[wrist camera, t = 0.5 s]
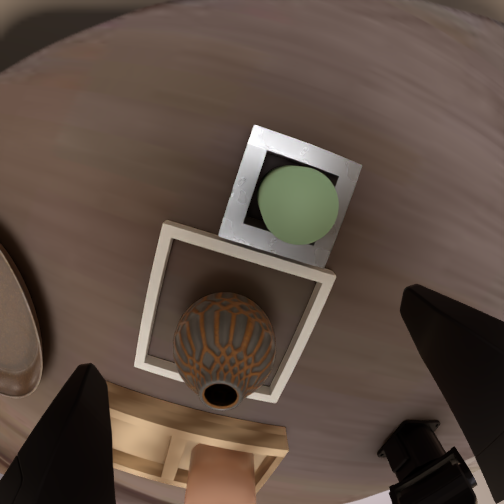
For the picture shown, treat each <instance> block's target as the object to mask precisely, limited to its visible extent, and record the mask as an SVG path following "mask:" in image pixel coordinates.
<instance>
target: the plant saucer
mask: <svg viewBox="0 0 504 504" xmlns="http://www.w3.org/2000/svg"><path fill="white" fill-rule="evenodd" d="M42 368H43V347H42V338H41V331H40V326H39V322H38V318H37V314H36V311H35V308H34V304H33V302H32V299H31V296H30V294H29V291H28V289H27V287H26V285H25V282H24V280H23V278H22V276H21V274H20V272H19V270H18V268H17V267H16V265H15V263H14V262H13V260H12V258H11V257H10V255H9V254H8V253H7V251H6V250H5V248H4V247H3V246H2V245H1V243H0V395H3V396H6V397H10V398H23V397H26V396H28V395H30V394H32V393H33V392H34V391H35V390H36V389H37V387H38V385H39V383H40V380H41V376H42Z"/></svg>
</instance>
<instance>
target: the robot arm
mask: <svg viewBox="0 0 504 504" xmlns="http://www.w3.org/2000/svg"><path fill="white" fill-rule="evenodd" d="M400 313H401V316H402V318H403V320H404V322H405V324H406V326H407V328H408V331H409V333H410V335H411V337H412V339H413V341H414V343H415V345H416V347H417V350H418V352H419V354H420V356H421V357H422V359H423V361H424V363H425V364H426V366H427V368H428V369H429V371H430V373H431V375H432V376H433V378H434V380H435V381H436V383H437V385H438V387H439V389H440V390H441V392H442V394H443V396H444V397H445V399H446V401H447V403H448V405H449V407H450V408H451V410H452V412H453V414H454V416H455V418H456V420H457V422H458V424H459V426H460V427H461V429H462V431H463V433H464V435H465V437H466V439H467V441H468V443H469V445H470V447H471V450H472V452H473V454H474V456H475V458H476V460H477V463H478V465H479V467H480V469H481V471H482V473H483V476H484V478H485V480H486V482H487V485H488V487H489V489H490V492H491V494H492V497H493V499H494V501H495V503H496V504H497V503H499V502H501V501H502V500H504V322H503V321H501V320H499V319H497V318H495V317H492V316H490V315H488V314H486V313H483V312H481V311H479V310H477V309H474V308H472V307H470V306H468V305H465V304H463V303H461V302H458V301H456V300H454V299H452V298H449V297H447V296H445V295H442V294H440V293H438V292H435V291H433V290H431V289H428V288H426V287H424V286H421V285H419V284H414V285H411V286H408V287H406V288H405V289H404V292H403V296H402V301H401V306H400ZM439 425H440V422H439V421H405V422H403V423H402V424H401V426H400V427H399V428H398V429H397V431H396V432H395V433H394V434H393V436H392V437H391V438H390V439H389V440H388V442H387V443H386V444H385V445H384V446H383V447H382V449H381V450H380V451H379V452H378V453H377V455H378V457H387V459H388V461H389V464H390V466H391V469H392V471H393V472H394V473H395V474H396V476H397V478H398V481H399V482H398V483H397V484H395V485H392V486H390V487H389V488H390V492H389V495H390V498H391V500H392V504H477V498H476V495H475V493H474V491H473V489H472V488H474V487H475V486H476V485H477V483H476V480H475V478H474V477H473V475H472V473H471V471H470V469H469V468H468V466H467V465H466V463H465V462H464V460H463V458H462V457H461V455H460V454H459V452H458V451H457V449H456V448H455V446H454V447H453V448H451V450H450V451H448V452H447V453H446V452H445V450H444V448H443V447H442V445H441V443H440V442H439V440H438V438H437V437H436V435H435V433H434V431H435V430H436V429H437V428H438V426H439ZM0 504H116V500H115V487H114V471H113V443H112V427H111V418H110V408H109V397H108V386H107V383H106V381H105V379H104V378H103V376H102V375H101V374H100V372H99V371H98V370H97V368H96V367H95V365H93V364H92V363H88V364H81V365H79V366H78V367H77V368H76V370H75V371H74V372H73V374H72V375H71V376H70V378H69V379H68V380H67V382H66V383H65V385H64V386H63V387H62V389H61V390H60V392H59V393H58V394H57V396H56V397H55V399H54V400H53V401H52V403H51V404H50V406H49V407H48V409H47V410H46V411H45V413H44V414H43V416H42V417H41V419H40V420H39V422H38V423H37V425H36V426H35V428H34V429H33V431H32V432H31V434H30V435H29V437H28V438H27V440H26V441H25V443H24V444H23V446H22V447H21V449H20V451H19V452H18V456H16V457H15V458H14V460H13V462H12V463H11V465H10V466H9V468H8V469H7V471H6V472H5V474H4V476H3V477H2V479H1V480H0Z"/></svg>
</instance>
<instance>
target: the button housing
mask: <svg viewBox="0 0 504 504" xmlns="http://www.w3.org/2000/svg"><path fill="white" fill-rule="evenodd" d="M266 152H267V153H270V154H273V155H276V156H279V157H282V158H284V159H287V160H290V161H293V162H296V163H299V164H301V165H304V166H307V167H309V168H312V169H315V170H318V171H320V172H323V173H325V174H326V177H327V178H328V179H329V180H330V181H331V183H332V184H333V186H334V188H335V190H336V192H337V196H338V201H339V210H338V215H337V218H336V221H335V223H334V225H333V226H332V228H331V229H330V231H329V232H328V233H327V234H326V235H325V236H323V237H322V238H321V239H319V240H317V241H315V242H313V243H309V244H304V245H294V244H289V243H286V242H284V241H282V240H280V239H278V238H277V237H275V236H274V235H273V234H272V233H271V232H270V230H269V229H268V228H267V226H266V224H265V222H264V221H261V220H257V219H254V218H251V217H248V216H245V215H246V212H247V209H248V206H249V203H250V200H251V197H252V194H253V191H254V188H255V185H256V182H257V179H258V176H259V173H260V170H261V167H262V164H263V161H264V158H265V155H266ZM361 168H362V165H361V164H358V163H356V162H354V161H351V160H349V159H346V158H344V157H342V156H339V155H337V154H334V153H332V152H329V151H327V150H324V149H322V148H319V147H317V146H314V145H311V144H309V143H306V142H303V141H301V140H298V139H295V138H292V137H289V136H287V135H284V134H281V133H278V132H275V131H272V130H269V129H266V128H263V127H260V126H257V125H254V126H253V129H252V132H251V135H250V138H249V141H248V144H247V147H246V150H245V153H244V156H243V159H242V162H241V165H240V168H239V171H238V174H237V177H236V180H235V183H234V186H233V189H232V192H231V196H230V199H229V202H228V205H227V208H226V211H225V215H224V218H223V221H222V224H221V227H220V231H219V234H218V236H219V237H222V238H225V239H229V240H232V241H235V242H238V243H242V244H245V245H248V246H251V247H255V248H258V249H261V250H264V251H268V252H271V253H274V254H277V255H281V256H284V257H287V258H290V259H294V260H297V261H300V262H303V263H307V264H310V265H313V266H316V267H319V268H323V269H324V267H325V265H326V263H327V260H328V258H329V255H330V252H331V250H332V247H333V245H334V242H335V240H336V237H337V234H338V232H339V229H340V227H341V224H342V221H343V219H344V216H345V213H346V210H347V208H348V205H349V202H350V199H351V197H352V194H353V191H354V188H355V185H356V182H357V180H358V177H359V174H360V171H361Z"/></svg>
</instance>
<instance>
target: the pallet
mask: <svg viewBox="0 0 504 504" xmlns="http://www.w3.org/2000/svg"><path fill="white" fill-rule="evenodd" d="M106 383H107V386H108V397H109V408H110V418H111V427H112V443H113V468H116V469H119V470H122V471H125V472H128V473H131V474H134V475H137V476H141V477H144V478H147V479H151V480H155V481H158V482H162V483H166V484H170V485H174V486H178V487H183V488H186V486H187V478H188V471H189V464H190V456H191V451H192V449H193V448H194V446H196V445H197V444H199V443H201V444H206V445H210V446H215V447H220V448H225V449H230V450H236V451H242V452H248V453H253V455H254V470H255V490H256V493H257V492H258V491H259V490H260V488H261V487H262V486H263V485H264V483H265V482H266V481H267V479H268V478H269V477H270V476H271V474H272V473H273V472H274V470H275V469H276V468H277V466H278V465H279V464H280V462H281V461H282V459H283V458H284V457H285V455H286V454H287V452H288V451H289V448H288V442H287V435H286V429H285V427H281V426H274V425H268V424H262V423H256V422H251V421H245V420H240V419H235V418H231V417H226V416H221V415H217V414H213V413H208V412H204V411H200V410H196V409H192V408H188V407H185V406H181V405H177V404H174V403H170V402H167V401H164V400H160V399H157V398H154V397H151V396H148V395H144V394H141V393H138V392H135V391H132V390H130V389H127V388H124V387H121V386H118V385H116V384H113V383H110V382H108V381H106Z"/></svg>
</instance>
